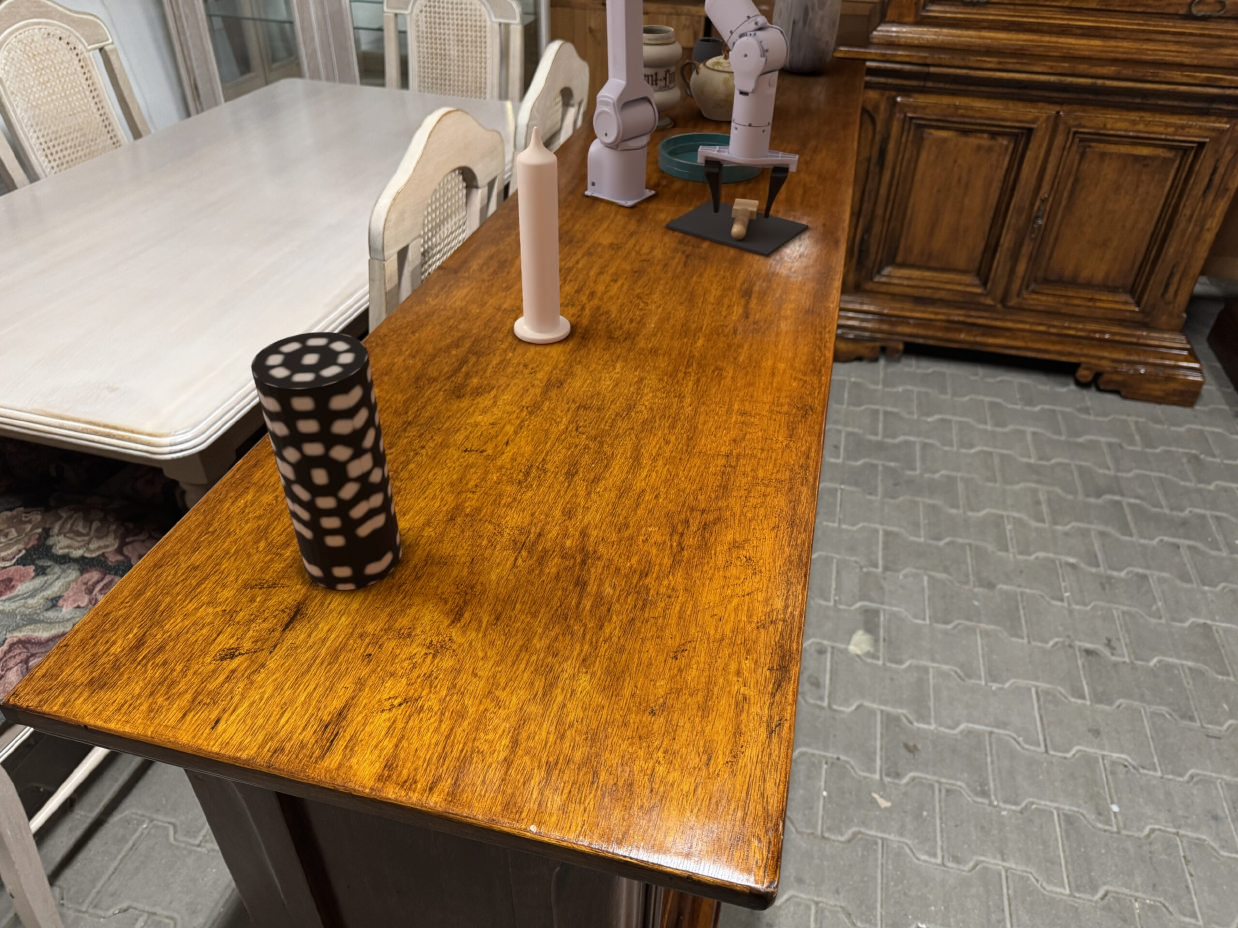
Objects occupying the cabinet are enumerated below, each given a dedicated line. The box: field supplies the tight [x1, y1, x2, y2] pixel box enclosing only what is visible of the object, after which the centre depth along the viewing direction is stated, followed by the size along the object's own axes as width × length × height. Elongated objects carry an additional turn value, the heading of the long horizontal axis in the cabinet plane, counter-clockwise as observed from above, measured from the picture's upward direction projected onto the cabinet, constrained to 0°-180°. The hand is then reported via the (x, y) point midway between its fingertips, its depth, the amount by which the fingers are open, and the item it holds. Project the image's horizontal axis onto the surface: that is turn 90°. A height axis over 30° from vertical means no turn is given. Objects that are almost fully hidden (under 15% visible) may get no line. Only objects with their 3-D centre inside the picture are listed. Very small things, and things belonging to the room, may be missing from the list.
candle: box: [513, 126, 571, 345], centre depth 103 cm, size 7×7×25 cm
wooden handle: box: [731, 198, 760, 240], centre depth 138 cm, size 14×4×2 cm, turn 168°
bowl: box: [657, 132, 764, 184], centre depth 160 cm, size 19×19×4 cm
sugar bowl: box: [679, 42, 735, 122], centre depth 184 cm, size 20×15×15 cm
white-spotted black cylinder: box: [250, 331, 403, 591], centre depth 71 cm, size 8×8×20 cm
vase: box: [771, 0, 843, 74], centre depth 213 cm, size 16×16×30 cm
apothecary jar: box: [643, 24, 683, 129], centre depth 177 cm, size 12×12×18 cm
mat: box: [665, 199, 809, 258], centre depth 139 cm, size 18×14×1 cm
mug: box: [686, 36, 724, 96], centre depth 201 cm, size 12×9×11 cm
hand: (741, 213), depth 134 cm, fingers open, 7 cm apart
